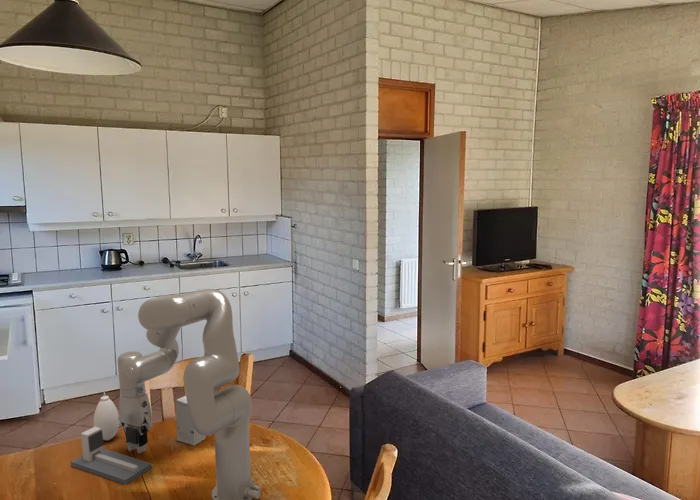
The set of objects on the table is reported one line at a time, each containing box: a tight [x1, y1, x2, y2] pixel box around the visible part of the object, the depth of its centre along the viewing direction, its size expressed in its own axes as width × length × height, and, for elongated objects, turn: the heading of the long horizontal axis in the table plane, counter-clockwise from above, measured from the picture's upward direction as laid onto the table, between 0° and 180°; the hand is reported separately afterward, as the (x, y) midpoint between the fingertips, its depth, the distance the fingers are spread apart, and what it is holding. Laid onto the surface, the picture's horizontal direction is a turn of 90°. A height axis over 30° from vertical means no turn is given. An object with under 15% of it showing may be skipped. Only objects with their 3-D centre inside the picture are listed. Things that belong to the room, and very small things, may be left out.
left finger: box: [125, 424, 148, 454], centre depth 172 cm, size 4×5×9 cm
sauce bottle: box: [93, 389, 120, 441], centre depth 181 cm, size 8×8×18 cm
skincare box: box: [176, 395, 206, 446], centre depth 180 cm, size 8×6×15 cm
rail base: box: [70, 426, 153, 486], centre depth 164 cm, size 24×10×10 cm, turn 64°
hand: (137, 442), depth 173 cm, fingers open, 5 cm apart
